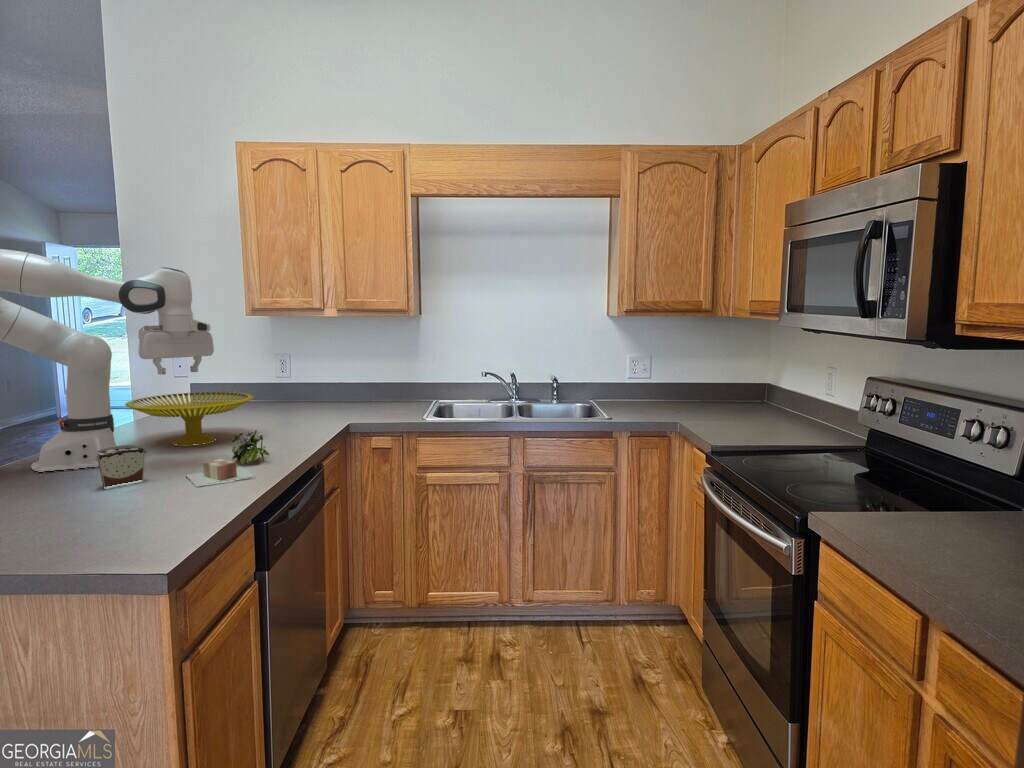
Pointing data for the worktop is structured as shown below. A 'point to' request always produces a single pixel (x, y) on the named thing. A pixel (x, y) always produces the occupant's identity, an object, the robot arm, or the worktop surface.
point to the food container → (121, 464)
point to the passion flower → (246, 442)
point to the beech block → (219, 469)
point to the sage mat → (241, 474)
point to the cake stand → (190, 411)
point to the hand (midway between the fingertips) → (178, 373)
